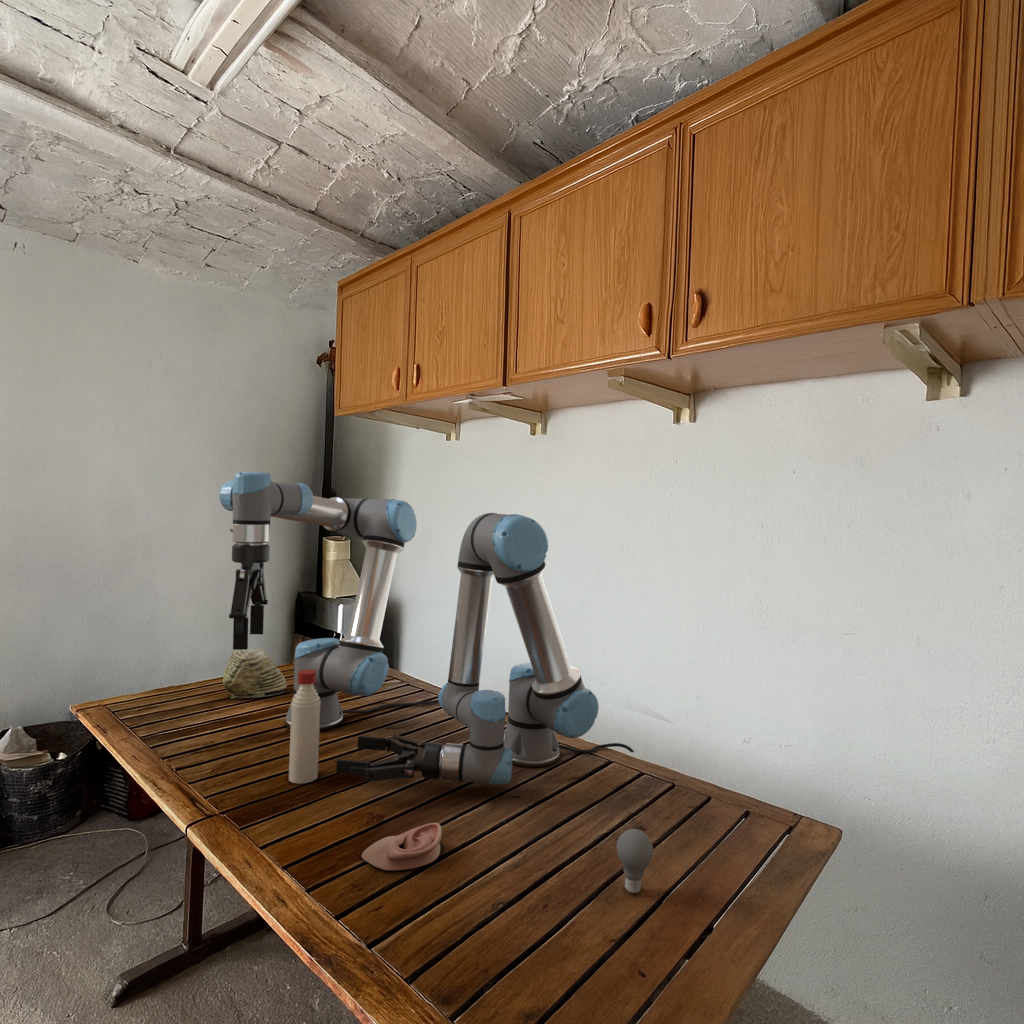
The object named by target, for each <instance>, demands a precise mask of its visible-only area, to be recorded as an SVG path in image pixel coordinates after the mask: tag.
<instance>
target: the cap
mask: <svg viewBox="0 0 1024 1024" xmlns="http://www.w3.org/2000/svg"><path fill="white" fill-rule="evenodd" d="M315 682H316V670H311V669H306V670H300V671H298V683H299V684H313V683H315Z"/></svg>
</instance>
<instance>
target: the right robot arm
mask: <svg viewBox="0 0 1024 1024" xmlns="http://www.w3.org/2000/svg"><path fill="white" fill-rule="evenodd" d="M547 552H549V540H548V536H547V533H546V531H545V529H544V528H543V526H542V525H541V524H540V523H539V522H538V521H536V520H535V519H533V518H531V517H528V516H525V515H522V514H517V513H515V514H513V513H510V514H505V513H496V512H487V513H483V514H480V515H479V516H477V517H475V518H474V519H472V521H471V522H470V523H469V525H468V526H467V528H466V529H465V532H464V534H463V536H462V539H461V543H460V548H459V553H458V560H457V566H456V567H457V569H458V571H459V572H460V577H459V578H460V580H459V586H458V595H457V604H456V612H455V619H454V627H453V635H452V643H451V644H452V645H451V646H452V647H451V653H450V660H449V670H448V677H447V682H445V684H444V685H443V686H442V687H441V688H440V690H439V692H438V697H437V698H438V699H437V700H439V702H438V704H439V706H440V708H441V709H443V711H444V712H445V713H446V715H448V716H449V717H451V718H453V719H455V720H457V721H458V722H459V723H460V724H462V725H463V726H465V727H466V728H468V729H469V743H468V744H464V743H449V742H446V743H445V744H443V743H442V742H433V741H428V742H427V741H419V740H415V739H412V738H410V737H405V736H402V735H399V734H396V733H393V734H392V735H391V736H388V737H380V736H367V735H358V737H357V749H359V750H371V751H383V752H385V751H386V752H392V753H394V754H395V755H396V756H395V757H394V758H391V759H386V760H381V761H377V762H370V761H369V760H366V761H364V760H363V761H362V760H350V759H340V758H338V759H337V760H336V768H335V769H336V770H335V771H336V772H335V773H336V774H340V775H350V776H351V775H352V776H353V775H354V776H362V777H365V782H367V783H372V782H380V781H388V780H397V779H413V778H415V777H414V776H415V772H420V773H421V777H422V778H423V779H425V780H437V781H438V780H440V779H441V780H442V781H451V782H452V783H456V782H465V783H476V784H485V785H489V786H490V785H495V786H496V785H499V786H501V785H508V784H509V783H510V782H511V779H512V775H513V765H514V766H519V767H526V768H540V767H541V768H542V767H547V766H550V765H553V764H556V762H558V761H559V759H560V754H561V752H560V749H562V750H566V751H570V752H572V753H577V754H591V753H593V752H595V751H596V750H599V749H605V748H613V747H619V748H624V749H626V750H628V751H629V752H630V753H635V750H634V749H633V748H631V747H630V746H628V745H627V744H625V743H620V742H613V743H611V742H610V743H603V744H597V745H595V746H593V747H592V748H588V749H577V748H573V747H570V746H566V745H563V744H559V741H558V737H557V734H558V735H559V736H562V737H564V738H565V737H566V738H568V739H577V738H580V737H582V736H584V735H585V734H587V733H588V732H589V731H590V730H591V728H592V727H593V726H594V724H595V721H596V719H597V717H598V714H599V709H600V708H599V707H600V706H599V699H598V698H597V696H596V694H595V693H594V692H593V691H592V690H590V689H588V688H586V687H585V685H584V681H583V678H582V675H581V672H580V670H579V669H578V668H577V667H576V666H573V665H572V664H571V662H570V659H569V656H568V653H567V651H566V646H565V644H564V640H563V637H562V634H561V631H560V628H559V625H558V622H557V619H556V616H555V612H554V608H553V606H552V603H551V602H552V601H551V599H550V596H549V593H548V590H547V586H546V584H545V581H544V577H543V573H544V572H545V569H546V568H547V564H546V559H547ZM493 578H495V581H496V583H497V584H499V585H500V586H503V587H504V588H505V590H506V593H507V596H508V599H509V602H510V605H511V608H512V611H513V614H514V617H515V620H516V624H517V626H518V629H519V632H520V635H521V638H522V641H523V644H524V647H525V650H526V653H527V655H528V659H529V662H526V663H519V664H515V665H513V667H511V669H510V672H509V679H508V682H509V684H508V685H509V686H508V709H507V711H506V696H505V695H504V694H503V693H502V692H500V691H498V690H493V689H480V681H481V674H482V666H483V657H484V650H485V642H486V641H485V640H486V633H487V625H488V617H489V611H490V610H489V609H490V601H491V595H492V594H491V593H492V586H493ZM506 714H507V724H506ZM505 724H506V725H505ZM505 726H506V727H505Z"/></svg>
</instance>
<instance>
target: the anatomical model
mask: <svg viewBox="0 0 1024 1024" xmlns="http://www.w3.org/2000/svg"><path fill="white" fill-rule="evenodd" d="M442 835H443V829H442V826H441V824H440V823H439V822H430V823H425V824H422V825H419V826H417V827H414V828H412V829H410V830H407V831H404V832H402V833H399V834H397V835H389V836H385V837H383V838H381V839H379V840H377V841H375V842H373V843H372V844H370V845H369V846H368V847H367V848H366V849H364V851H362V852H361V853H362V854H361V858H362V859H363V861H365V862H366V863H368V864H370V865H371V866H373V867H375V868H377V869H379V870H384V871H387V872H389V871H390V872H391V871H403V870H412V869H416V868H419V867H423V866H426V865H428V864H431V863H433V862H434V861H435V860H437V859H439V856H440V855H441V844H440V842H441V839H442Z"/></svg>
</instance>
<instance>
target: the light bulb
mask: <svg viewBox="0 0 1024 1024" xmlns="http://www.w3.org/2000/svg"><path fill="white" fill-rule="evenodd" d="M615 849H616V854H617V857H618V859H619V861H620V863H621V865H622V867H623V873H624V874H623V875H624V876H625V878H624V888H625V890H627V891H628V892H630V893H634V894H635V893H639V892H640V891H641V889H642V887H641V886H642V879H643V877H644V875H645V871H646V868H647V867H648V866H649V864H650V863H651V861H652V859H653V855H654V847H653V843H652V841H651V838H649V836H648V835H647V834H646V833H645V832H643V831H642V830H641V829H636V828H629V829H627V830H625V831H623V832H622V833H621V834H620V835H619V837H618V839H617V841H616V847H615Z"/></svg>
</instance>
